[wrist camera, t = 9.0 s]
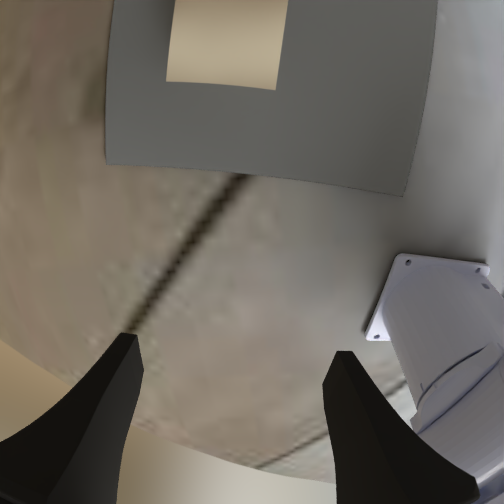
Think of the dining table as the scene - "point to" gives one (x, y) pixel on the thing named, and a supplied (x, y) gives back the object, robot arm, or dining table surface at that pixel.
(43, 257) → the dining table surface
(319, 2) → the rubber mat
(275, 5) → the brown and cream block
